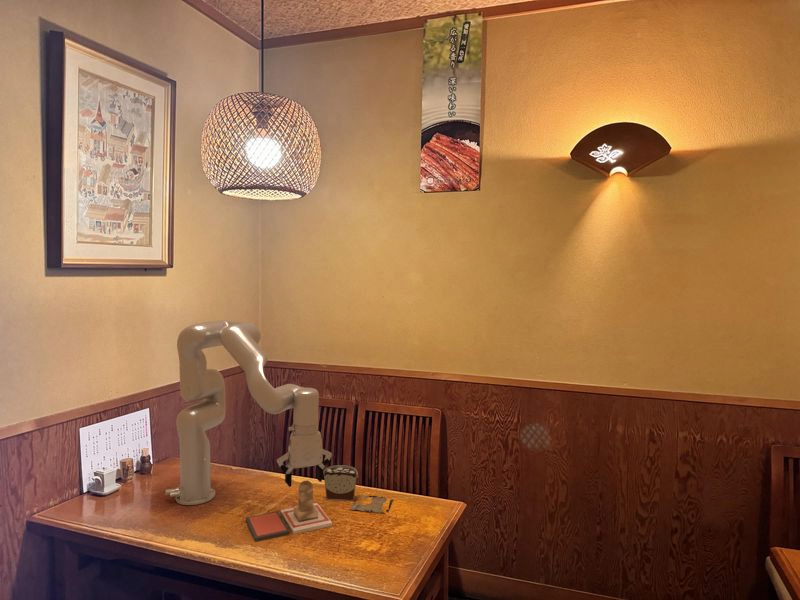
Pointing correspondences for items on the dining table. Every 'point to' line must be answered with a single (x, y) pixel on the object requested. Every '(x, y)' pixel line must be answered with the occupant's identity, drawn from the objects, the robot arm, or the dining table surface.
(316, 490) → the dining table surface
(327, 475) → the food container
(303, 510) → the stamp
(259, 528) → the ink pad
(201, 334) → the robot arm
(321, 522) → the marked board
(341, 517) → the dining table surface
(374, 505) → the parchment
